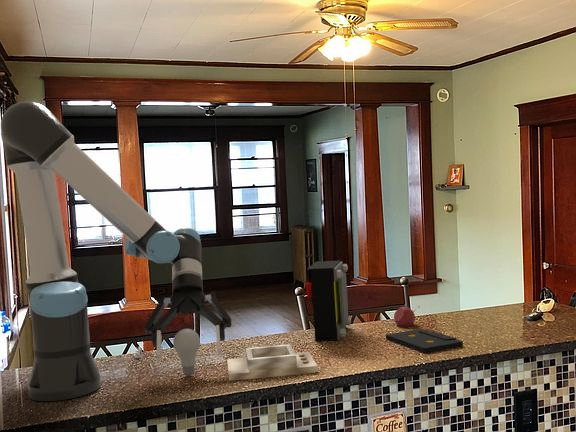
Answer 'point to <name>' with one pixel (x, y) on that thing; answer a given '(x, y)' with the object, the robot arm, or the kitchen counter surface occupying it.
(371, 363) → the kitchen counter surface
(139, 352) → the power adapter
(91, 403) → the kitchen counter surface
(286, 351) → the desk organizer
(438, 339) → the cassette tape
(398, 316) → the fruit
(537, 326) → the kitchen counter surface
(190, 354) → the lightbulb
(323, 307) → the electrical component
